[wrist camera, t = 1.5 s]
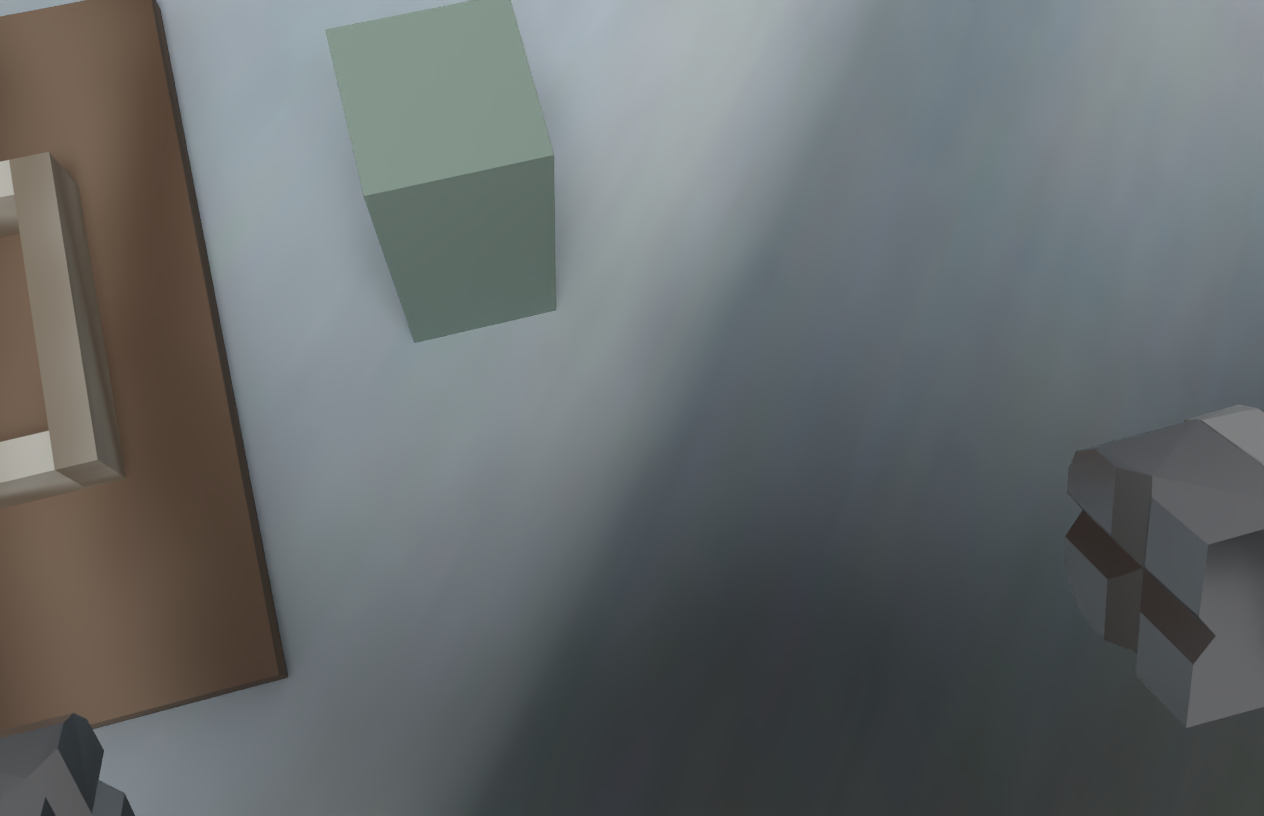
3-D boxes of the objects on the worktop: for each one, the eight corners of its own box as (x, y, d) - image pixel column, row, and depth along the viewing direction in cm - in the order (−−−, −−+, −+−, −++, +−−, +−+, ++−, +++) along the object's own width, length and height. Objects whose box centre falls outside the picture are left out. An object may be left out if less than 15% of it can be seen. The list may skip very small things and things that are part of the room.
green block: (521, 183, 35) (508, -7, 26) (555, 310, 34) (554, 155, 25) (384, 213, 34) (325, 30, 26) (414, 342, 33) (363, 196, 25)
